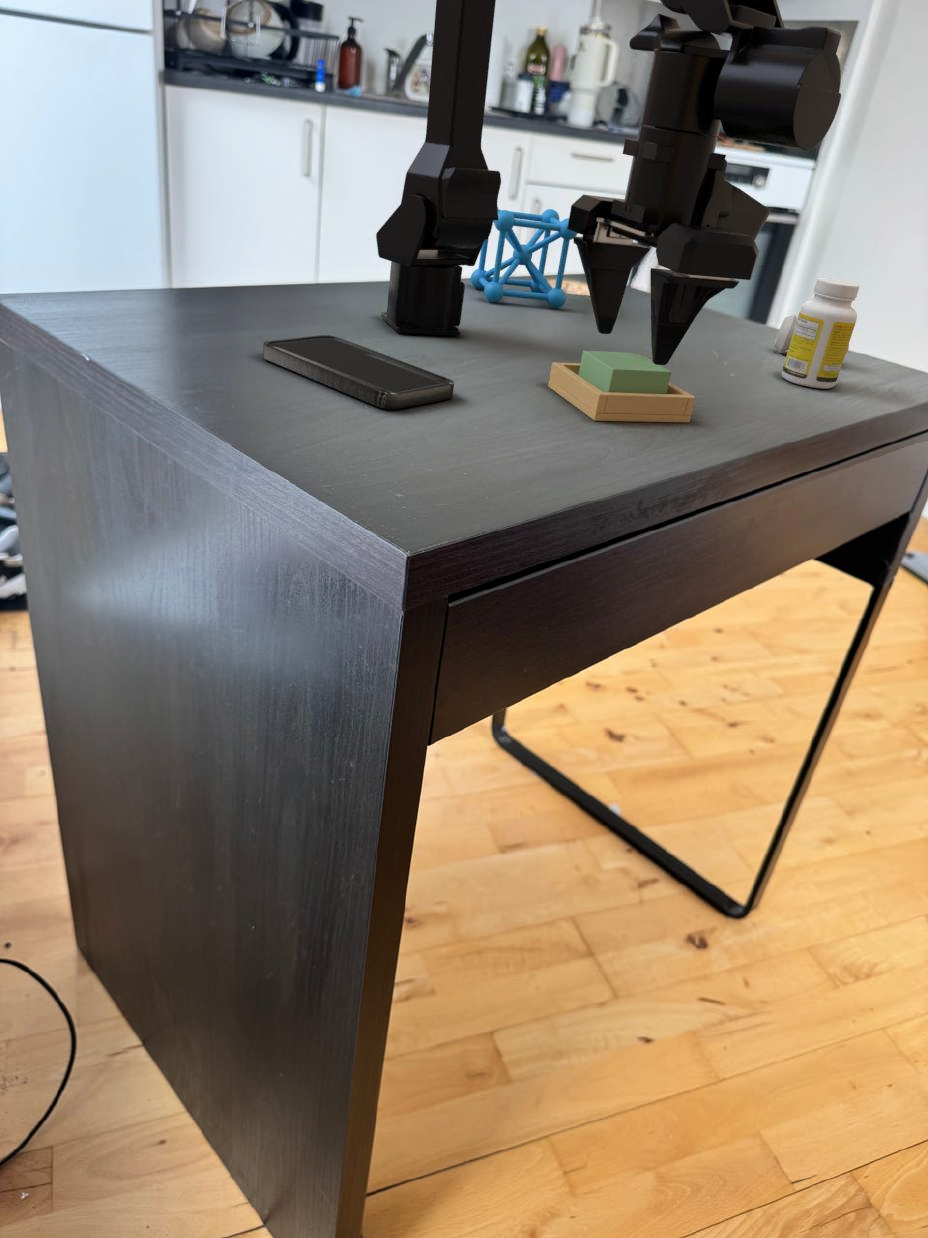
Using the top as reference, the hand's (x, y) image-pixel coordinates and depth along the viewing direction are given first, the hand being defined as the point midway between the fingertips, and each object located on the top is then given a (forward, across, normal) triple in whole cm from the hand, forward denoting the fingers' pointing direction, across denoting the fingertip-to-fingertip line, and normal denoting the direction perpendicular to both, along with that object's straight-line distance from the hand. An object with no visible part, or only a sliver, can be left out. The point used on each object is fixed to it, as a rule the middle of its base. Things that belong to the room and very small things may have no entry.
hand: (630, 348), depth 74 cm
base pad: (+5, 0, 0) cm, 5 cm away
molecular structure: (+5, +41, -8) cm, 42 cm away
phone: (+5, +5, +21) cm, 22 cm away
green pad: (+4, 0, 0) cm, 4 cm away
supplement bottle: (+5, +9, -27) cm, 29 cm away
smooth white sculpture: (+5, +19, -35) cm, 40 cm away
